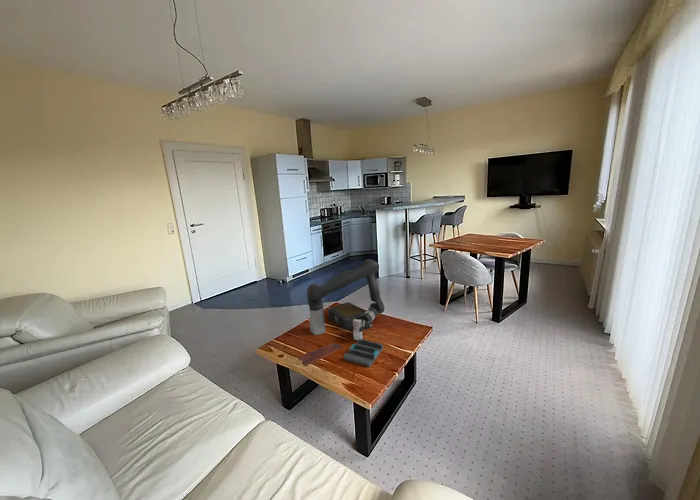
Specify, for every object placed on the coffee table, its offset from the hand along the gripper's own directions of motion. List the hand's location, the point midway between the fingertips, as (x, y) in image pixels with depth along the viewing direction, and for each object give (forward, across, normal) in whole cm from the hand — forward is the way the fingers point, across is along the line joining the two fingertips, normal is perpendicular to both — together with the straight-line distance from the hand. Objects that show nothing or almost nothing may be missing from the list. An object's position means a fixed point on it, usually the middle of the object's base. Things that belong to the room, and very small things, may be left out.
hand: (355, 329), depth 176 cm
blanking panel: (-3, 0, +8) cm, 8 cm away
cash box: (-24, -20, +9) cm, 33 cm away
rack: (+10, +10, +8) cm, 16 cm away
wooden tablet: (+19, -14, +9) cm, 25 cm away
